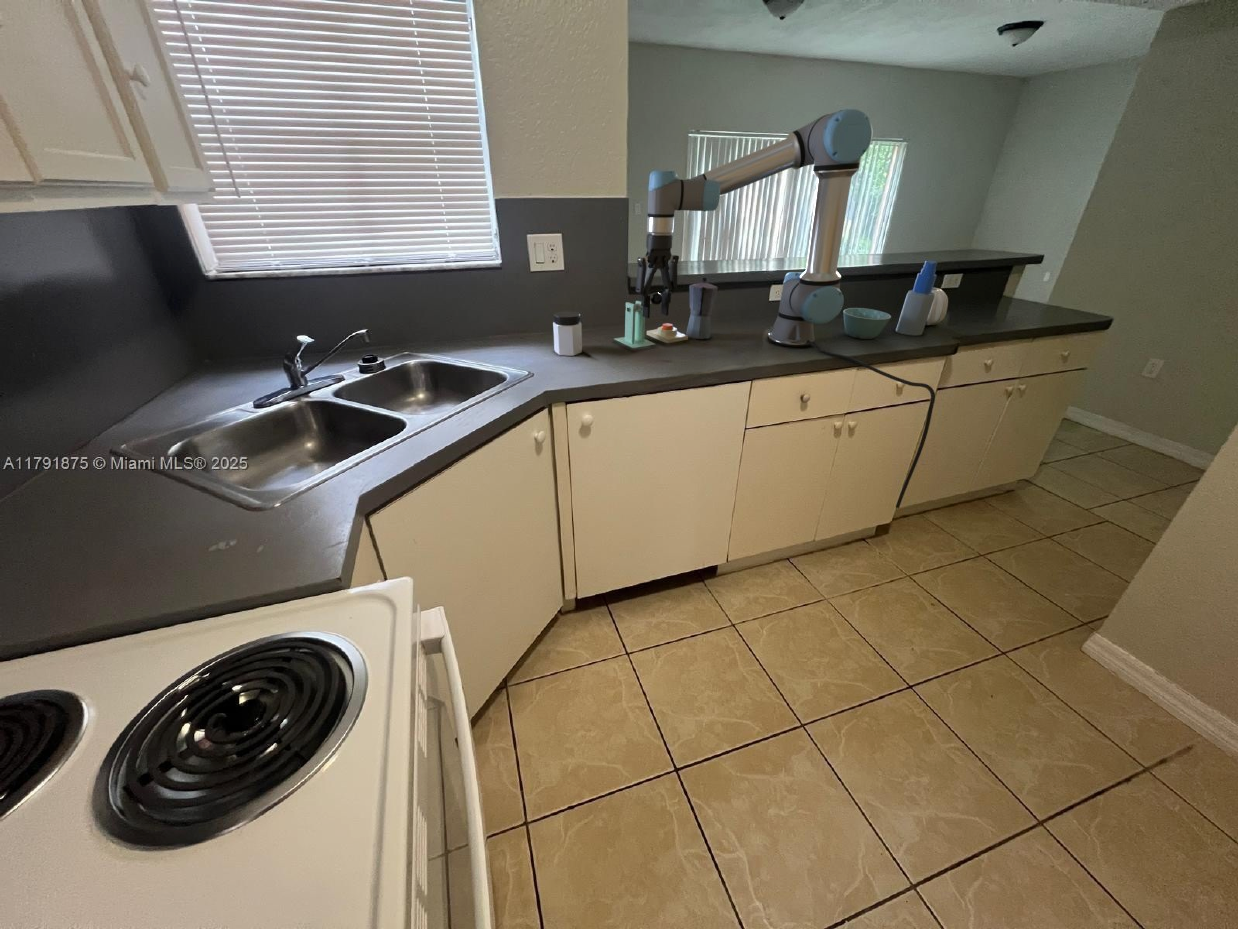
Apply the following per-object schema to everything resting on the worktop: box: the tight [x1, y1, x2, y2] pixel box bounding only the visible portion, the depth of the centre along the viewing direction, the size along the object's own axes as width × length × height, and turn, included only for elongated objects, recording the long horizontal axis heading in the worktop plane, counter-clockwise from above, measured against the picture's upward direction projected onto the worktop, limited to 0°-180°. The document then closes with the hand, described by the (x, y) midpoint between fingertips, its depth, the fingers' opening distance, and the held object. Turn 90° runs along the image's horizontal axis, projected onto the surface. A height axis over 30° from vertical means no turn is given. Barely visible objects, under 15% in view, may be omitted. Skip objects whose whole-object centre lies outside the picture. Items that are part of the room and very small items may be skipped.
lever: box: [634, 292, 662, 313], centre depth 152 cm, size 15×4×4 cm, turn 32°
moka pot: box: [685, 277, 718, 340], centre depth 168 cm, size 10×15×20 cm, turn 174°
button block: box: [646, 326, 689, 344], centre depth 168 cm, size 12×9×4 cm
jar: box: [552, 310, 583, 357], centre depth 153 cm, size 9×8×12 cm
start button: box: [661, 322, 674, 330], centre depth 167 cm, size 4×4×2 cm
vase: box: [925, 287, 949, 326], centre depth 192 cm, size 14×14×13 cm
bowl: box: [843, 307, 892, 340], centre depth 176 cm, size 16×16×8 cm
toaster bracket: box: [614, 300, 656, 349], centre depth 160 cm, size 12×9×14 cm
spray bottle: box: [895, 260, 938, 336], centre depth 177 cm, size 9×9×25 cm
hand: (655, 315), depth 150 cm, fingers open, 6 cm apart
